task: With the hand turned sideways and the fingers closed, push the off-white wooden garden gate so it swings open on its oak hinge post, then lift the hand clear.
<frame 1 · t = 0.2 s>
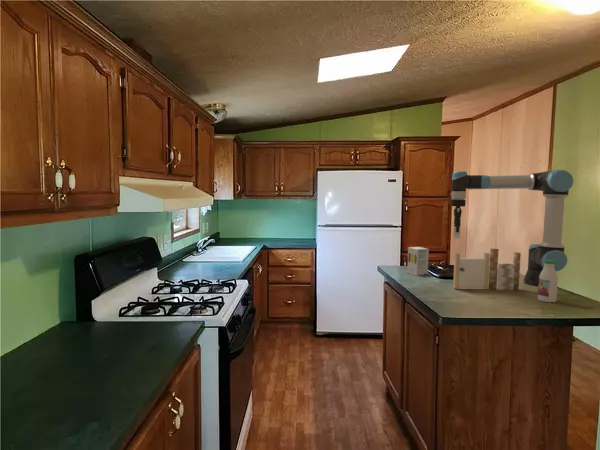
hand: (456, 237, 225), 27 cm above the countertop, tool pointing down, fingers open, 13 cm apart
gate post and fence: (492, 289, 217), on the countertop
milk bottle: (546, 301, 194), on the countertop
supplement box: (417, 274, 257), on the countertop
gate: (472, 270, 215), point 10 cm above the countertop, hinge at 0.0°
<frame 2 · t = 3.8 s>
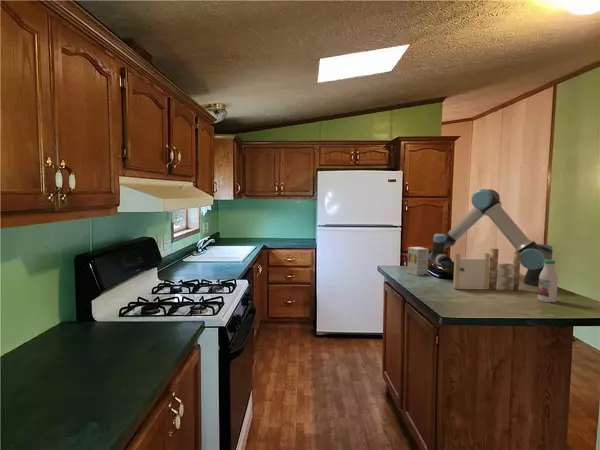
hand: (460, 270, 226), 8 cm above the countertop, tool horizontal, fingers closed
nothing on the countertop moved.
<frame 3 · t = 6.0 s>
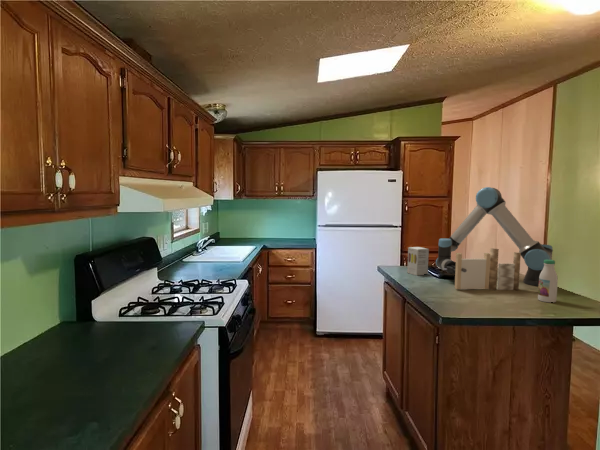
hand: (466, 274, 216), 8 cm above the countertop, tool horizontal, fingers closed
gate: (473, 271, 214), point 10 cm above the countertop, hinge at 5.7°, touching gripper
everything else where it was.
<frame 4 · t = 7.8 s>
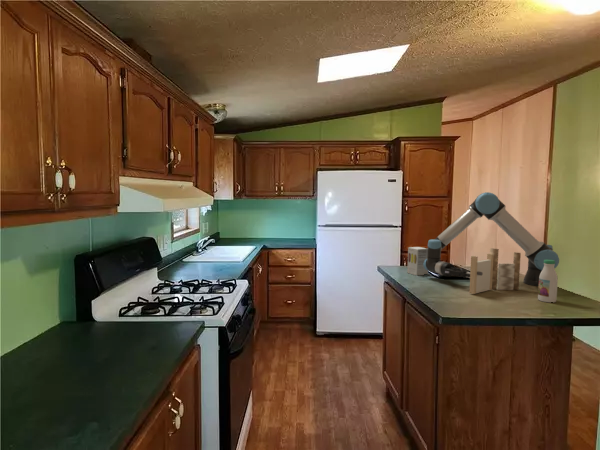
hand: (476, 276, 209), 8 cm above the countertop, tool horizontal, fingers closed
gate: (483, 273, 208), point 10 cm above the countertop, hinge at 36.3°, touching gripper
everything else where it was.
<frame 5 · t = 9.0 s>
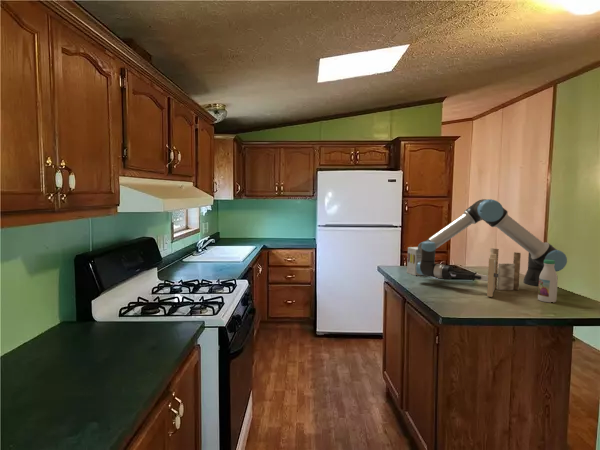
hand: (488, 278, 205), 8 cm above the countertop, tool horizontal, fingers closed
gate: (494, 274, 205), point 10 cm above the countertop, hinge at 60.2°, touching gripper
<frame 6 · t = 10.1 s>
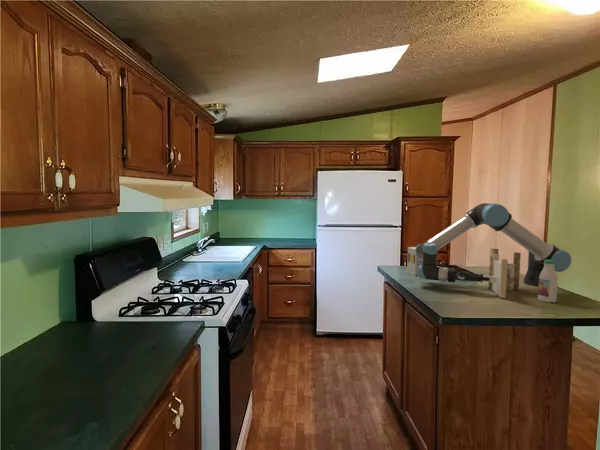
hand: (496, 279, 203), 8 cm above the countertop, tool horizontal, fingers closed
gate: (501, 275, 204), point 10 cm above the countertop, hinge at 76.3°
everything else where it was.
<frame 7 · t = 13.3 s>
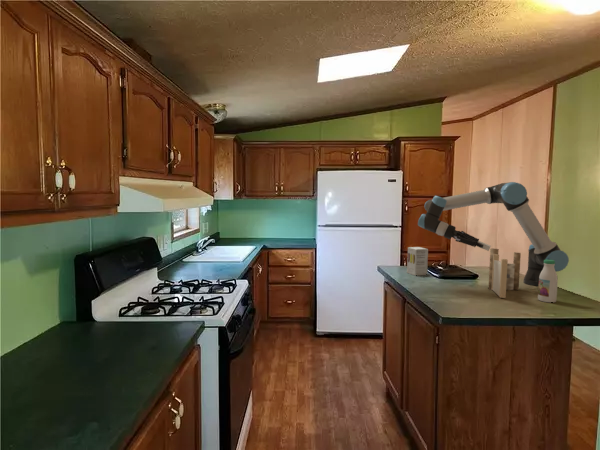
hand: (489, 248, 210), 23 cm above the countertop, tool tilted 70°, fingers closed
nothing on the countertop moved.
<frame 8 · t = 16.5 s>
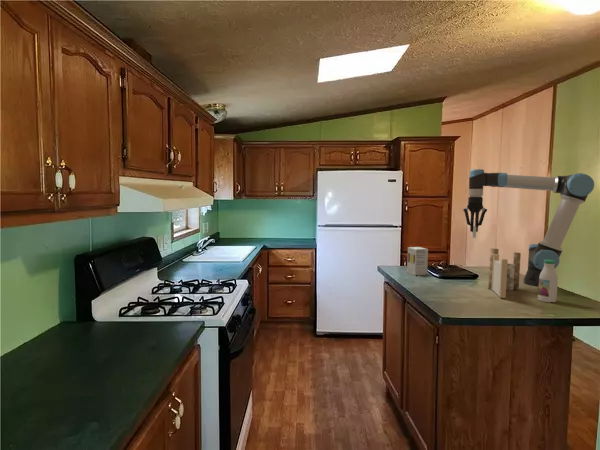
hand: (473, 237, 231), 26 cm above the countertop, tool pointing down, fingers closed
nothing on the countertop moved.
at the end: gate at +76° (first picture: +0°) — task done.
